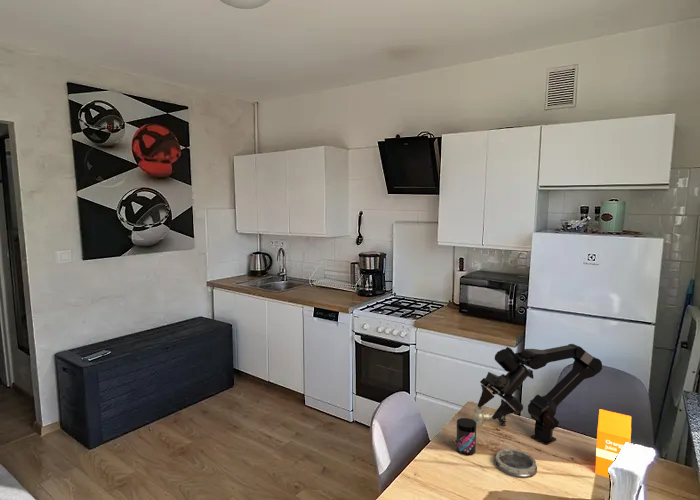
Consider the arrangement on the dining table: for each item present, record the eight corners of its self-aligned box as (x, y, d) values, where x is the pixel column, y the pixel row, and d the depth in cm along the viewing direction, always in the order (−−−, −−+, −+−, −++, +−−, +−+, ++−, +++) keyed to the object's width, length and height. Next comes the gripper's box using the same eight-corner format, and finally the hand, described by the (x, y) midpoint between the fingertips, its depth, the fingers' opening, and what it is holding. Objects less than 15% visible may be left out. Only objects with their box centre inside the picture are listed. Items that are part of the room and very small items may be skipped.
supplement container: (452, 450, 148) (452, 422, 147) (462, 443, 153) (463, 415, 152) (469, 458, 143) (469, 429, 142) (479, 451, 148) (480, 422, 147)
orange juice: (597, 462, 141) (600, 404, 139) (629, 471, 136) (632, 411, 134) (594, 473, 135) (597, 413, 133) (627, 484, 130) (631, 421, 128)
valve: (474, 428, 164) (506, 429, 163) (474, 411, 163) (506, 413, 162) (471, 419, 171) (501, 421, 169) (471, 404, 170) (502, 405, 169)
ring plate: (511, 450, 148) (511, 444, 148) (545, 469, 137) (545, 462, 137) (486, 462, 141) (486, 455, 141) (520, 483, 130) (520, 476, 130)
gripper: (485, 356, 158) (458, 388, 156) (516, 375, 140) (486, 411, 138) (503, 374, 160) (476, 406, 159) (536, 395, 142) (506, 430, 140)
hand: (485, 412), depth 149 cm, fingers open, 9 cm apart
